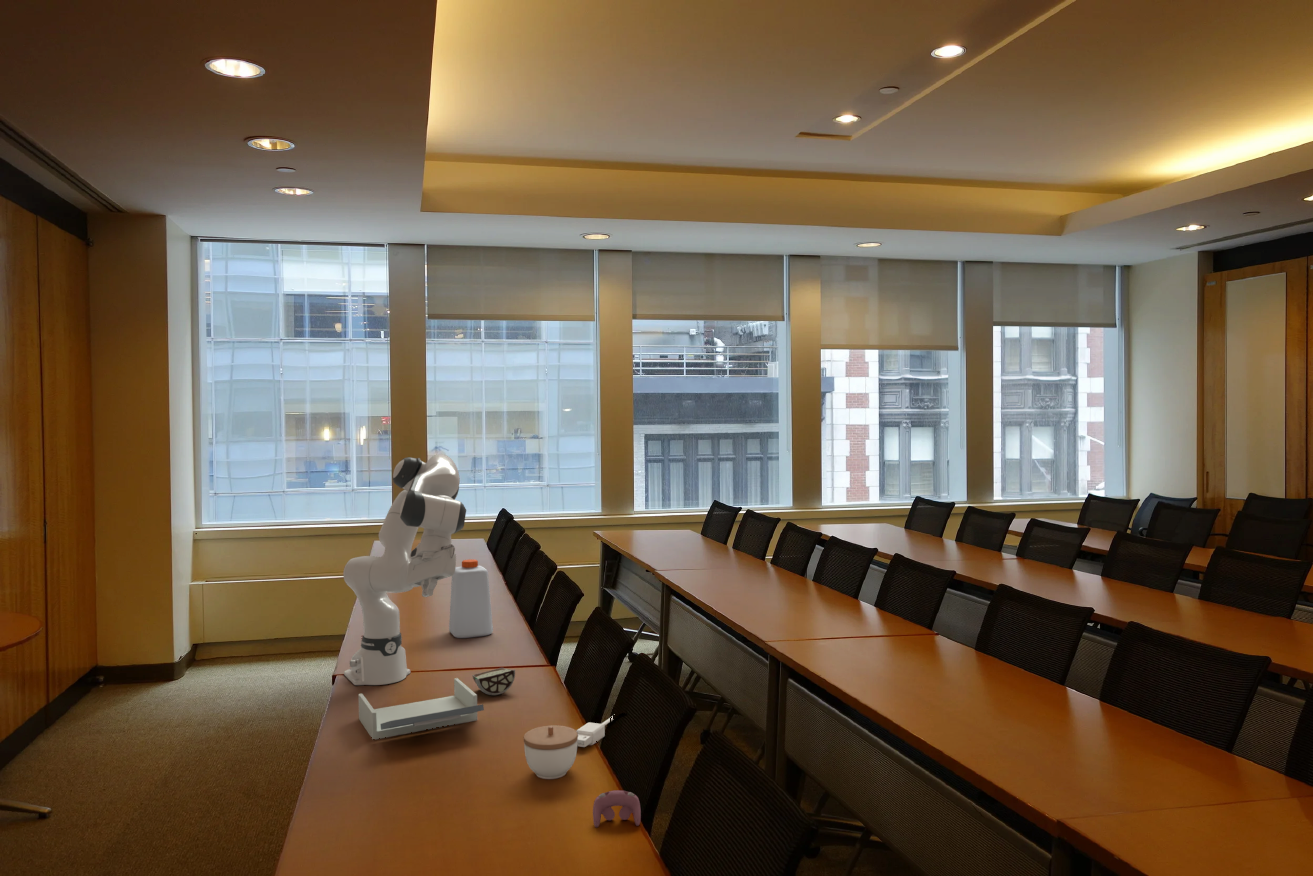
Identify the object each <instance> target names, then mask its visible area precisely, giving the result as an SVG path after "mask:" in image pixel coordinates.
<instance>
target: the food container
mask: <svg viewBox="0 0 1313 876" xmlns="http://www.w3.org/2000/svg"><path fill="white" fill-rule="evenodd" d="M515 677H516V669H515V668H513V669H512V668H511V669H510V668H504V667H499V668H495V669H491V670H488V671H483V672H479V673H476V674H472V679H473V681H474V682H475V684H476V686H477V688H478V689H479V690H480V691H481V692H482V693H484V694H486V695H488V696H498V695H501V694H503V693H505V692H507V691H508V690H509V689H510V688H511V687H512V685H513V684H514V681H515Z"/></svg>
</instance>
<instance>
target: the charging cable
mask: <svg viewBox="0 0 1313 876" xmlns="http://www.w3.org/2000/svg"><path fill="white" fill-rule="evenodd" d="M611 717H612V718H611ZM610 718H611V722H613V720H614V719H613V715H612V716H610V717H609V718H608V719H606V720H605V721H603V722H601V723H597V722H596V723H595V722H591V721H590V722H587V723H586V724H584V725H582V726H581V727H580V728H579V727H578V729H576V732H577V733H578V739H577V747H581V748H585V747H587V746H593V745H594V744H596V743H597V742H599V741H600V740H601V739H603V738H604V737H605V736H606V735H605V733H606V732H605V726H607V724H609V723H610ZM596 741H597V742H596Z"/></svg>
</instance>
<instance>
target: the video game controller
mask: <svg viewBox="0 0 1313 876" xmlns="http://www.w3.org/2000/svg"><path fill="white" fill-rule="evenodd" d="M612 807H621V808H620V810H619V813H618V816H619V818H620V819H621V820H622V821H626V820H628V819H629V818H630V817H631V814H632V815H633V821H634V824H635V826H637V827H638V826H639V825H640V824H641V818H642V817H641V816H642V815H641V813H642V811H641V803H640V799H639V796H637V795H636V794H635V793H633V792H631V791H626V790H620V789H619V790H617V789H616V790H610V791H605V792H603V793H600V794H599V795H598V796H597V797H596V798H595V799H594V801H593V805H592V817H593V818H592V819H593V821H592V822H593V826H594V827H595V828H598V827H600V824H601V818H602V815H603V817H604V819H605V820H606V821H613V819H614V818H615V815H616V813H615V811H614V809H613V808H612Z"/></svg>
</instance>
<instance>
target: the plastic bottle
mask: <svg viewBox="0 0 1313 876" xmlns="http://www.w3.org/2000/svg"><path fill="white" fill-rule="evenodd" d="M490 592H491V591H490V581H489V571H488V569H486V568H485V567H484V566H482V565H479V561H478V560H477V559H473V558H472V559H471V558H469V559H463V560H462V561H461V566H456V567H455V572H454V574H453V576H451V586H450V602H449V603H450V605H449V620H448V621H449V623H448V624H449V625H448V629H449V630H448V631H449V633H451V635H453V637H455V638H457V639H468V638H469V639H471V638H477V637H485V636H490V635H491V634H492V633H493V631H494V627H493V614H492V604H491V603H492V602H491V593H490Z"/></svg>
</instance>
